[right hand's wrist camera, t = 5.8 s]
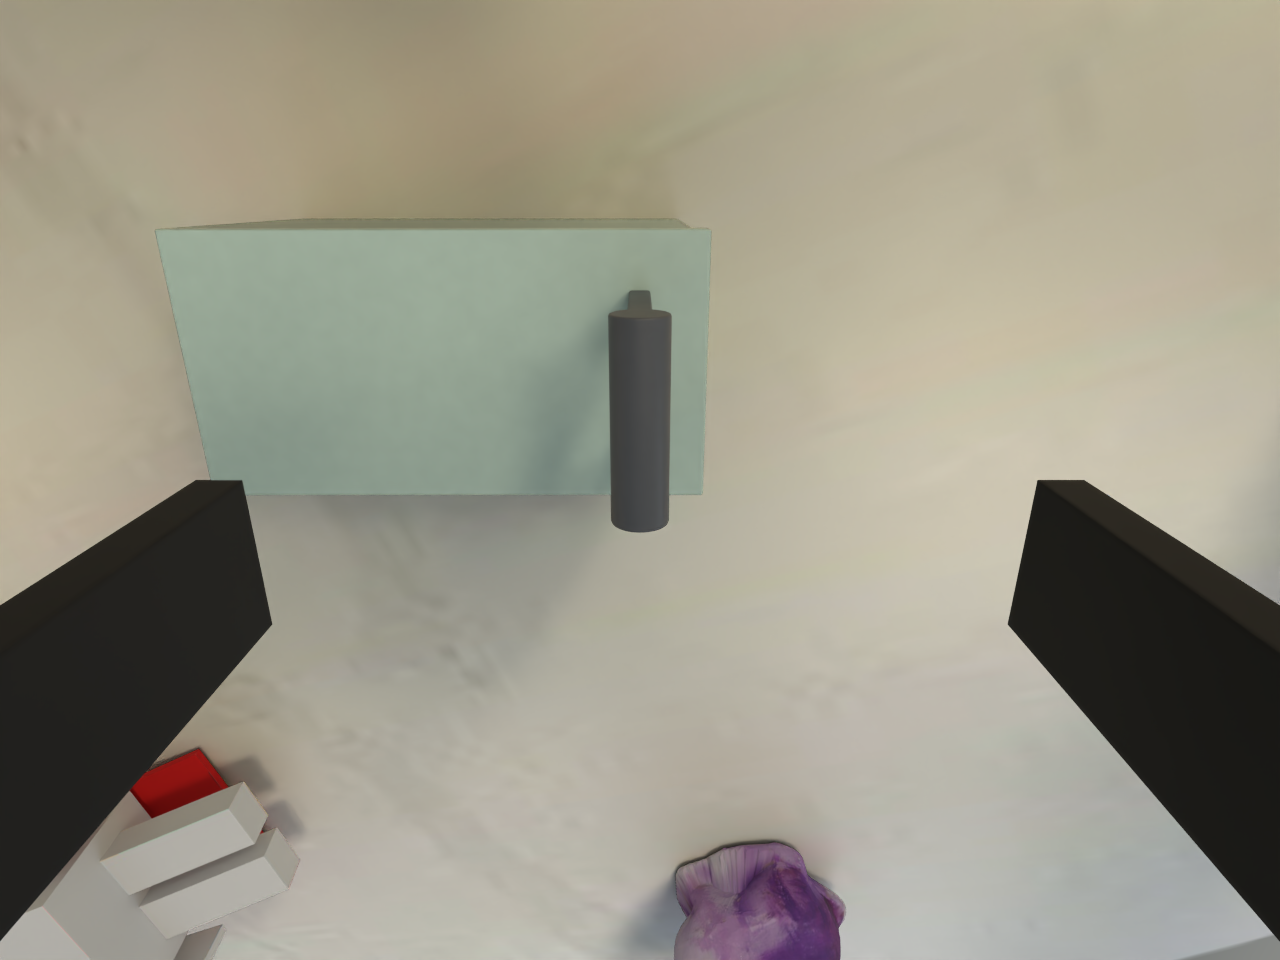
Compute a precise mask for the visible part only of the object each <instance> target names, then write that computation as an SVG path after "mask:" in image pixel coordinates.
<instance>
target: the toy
mask: <svg viewBox="0 0 1280 960" xmlns="http://www.w3.org/2000/svg"><path fill="white" fill-rule="evenodd" d="M267 817H268V814H267V813H266V811H265V810H264V809H263V807H262V806H261V804H260V803H259V802H258V800H257V799H256V798H255V796H254V795H253V793H252V792H251V791H250V789H249V788H248V786H247V785H246V784H245V782H244V781H243V782H240V783H238V784H235V785H233V786H231V787H228V785H227V784H226V783H225V782H224V780H223V779H222V778H221V776H220V775H219V774H218V773H217V771H216V770H215V769H214V767H213V766H212V765H211V764H210V762H209V761H208V760H207V758H206V757H205V756H204V754H203V753H202V752H201V751H200V749H197V750H195V751H193V752H190V753H188V754H186V755H184V756H182V757H179V758H177V759H175V760H173V761H170V762H168V763H166V764H164V765H161V766H159V767H157V768H155V769H153V770H150V771H148V772H146V773H144V774H143V776H142V777H141V778H140V779H139V780H138V781H137V783H136V784H135V785H134V786H133V787H132V788H131V790H130V791H129V792H128V793H127V794H126V795H125V797H124V798H123V799H122V800H121V801H120V802H119V804H118V805H117V806H116V807H115V808H114V809H113V810H112V812H111V813H110V814H109V815H108V816H107V817H106V819H105V820H104V821H103V822H102V823H101V824H100V826H99V827H98V828H97V829H96V830H95V831H94V833H93V834H92V835H91V836H90V837H89V838H88V840H87V841H86V842H85V843H84V844H83V845H82V847H81V848H80V849H79V850H78V851H77V852H76V854H75V855H74V856H73V857H72V858H71V859H70V861H69V862H68V863H67V864H66V865H65V866H64V868H63V869H62V870H61V871H60V872H59V873H58V875H57V876H56V877H55V878H54V879H53V880H52V882H51V883H50V884H49V885H48V886H47V887H46V889H45V890H44V891H43V892H42V893H41V894H40V896H39V897H38V898H37V899H36V900H35V901H34V903H33V904H32V905H31V906H30V907H29V908H28V910H27V911H26V912H25V913H24V914H23V915H22V917H21V918H20V919H19V920H18V921H17V922H16V924H15V925H14V926H13V927H12V928H11V929H10V931H9V932H8V933H7V934H6V935H5V936H4V938H3V939H2V940H1V941H0V960H212V959H213V957H214V955H215V953H216V951H217V949H218V947H219V945H220V943H221V940H222V938H223V936H224V934H225V932H226V929H225V928H224V926H223V925H219V926H216V927H212V928H209V929H206V930H203V931H200V932H196V933H193V934H190V935H187V933H188V931H189V930H191V929H193V928H196V927H198V926H201V925H203V924H206V923H208V922H210V921H213V920H215V919H218V918H220V917H223V916H225V915H228V914H230V913H232V912H235V911H237V910H240V909H242V908H245V907H247V906H250V905H252V904H254V903H257V902H259V901H262V900H264V899H267V898H269V897H271V896H274V895H276V894H279V893H281V892H284V891H286V890H289V887H290V885H291V882H292V880H293V877H294V874H295V872H296V869H297V867H298V864H299V862H300V859H299V857H298V856H297V854H296V853H295V852H294V850H293V849H292V847H291V846H290V845H289V843H288V842H287V841H286V839H285V838H284V836H283V835H282V834H281V832H280V831H279V829H278V828H277V827H276V828H274V829H272V830H269V831H267V832H263V831H262V828H263V826H264V823H265V821H266V819H267ZM186 935H187V936H186Z"/></svg>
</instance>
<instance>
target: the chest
mask: <svg viewBox="0 0 1280 960" xmlns="http://www.w3.org/2000/svg"><path fill="white" fill-rule="evenodd" d="M179 228H691V227H690V226H688V225H686V224H685V223H683V222H681V221H680V220H678V219H295V220H281V221H266V222H252V223H237V224H223V225H208V226H194V227H179Z"/></svg>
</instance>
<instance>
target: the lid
mask: <svg viewBox="0 0 1280 960" xmlns="http://www.w3.org/2000/svg"><path fill="white" fill-rule="evenodd" d="M155 234H156V238H157V243H158V247H159V252H160V256H161V261H162V265H163V270H164V274H165V278H166V283H167V287H168V292H169V296H170V301H171V305H172V310H173V314H174V319H175V323H176V328H177V332H178V337H179V341H180V345H181V350H182V354H183V359H184V363H185V368H186V372H187V377H188V381H189V386H190V390H191V395H192V399H193V404H194V408H195V413H196V417H197V421H198V426H199V430H200V435H201V439H202V444H203V448H204V453H205V457H206V462H207V466H208V471H209V475H210V480H242V481H243V486H244V491H245V495H611V521H612V523H613V525H614V526H615V527H617V528H619V529H621V530H625V531H629V532H651V531H655V530H659V529H661V528H663V527H664V526H666V525H667V523H668V521H669V495H702V494H703V470H704V440H705V410H706V379H707V349H708V319H709V288H710V258H711V230H710V229H708V228H165V229H156V230H155Z"/></svg>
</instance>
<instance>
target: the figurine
mask: <svg viewBox="0 0 1280 960" xmlns="http://www.w3.org/2000/svg"><path fill="white" fill-rule="evenodd" d="M676 884H677V885H676V887H677V888H676V890H677V891H676V892H677V894H676V895H677V900H678V901H679V904H680V906H681V908H682V910H683V912H684V914H685V915H686V917H687V919H686V920H685V921H684V923H683V924H682V926H681V928H680V930H679V932H678V934H677V936H676V941H675V947H674V960H840V936H839V929H838V928H839V926H840V925H841V923H842V922H843V921H844V919H845V915H846V907H845V904H844V902H843V901H842V900H841V899H840V897H839V896H838V895H836V894H835V893H834V892H832V891H831V890H829V889H828V888H827V887H825V886H823V885H822V884H820V883H818V882H816V881H815V880H813V879H812V878H810V877H809V876H808V875H807V872H806V867H805V864H804V861H803V858H802V856H801V855H800V854H799V853H798V852H797V851H796V850H795V849H794V848H791V847H788V846H786V845H784V844H782V843H776V842H773V843H768V844H751V845H740V846H734V847H729V848H723V849H722V850H720V851H718V852H716V853H714V854H712V855H710V856H708V857H707V858H706V859H702V860H700V861H695V862H693V863H689V864H687V865H685V866H683V867H680V868H679V869H678V871H677V873H676Z"/></svg>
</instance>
